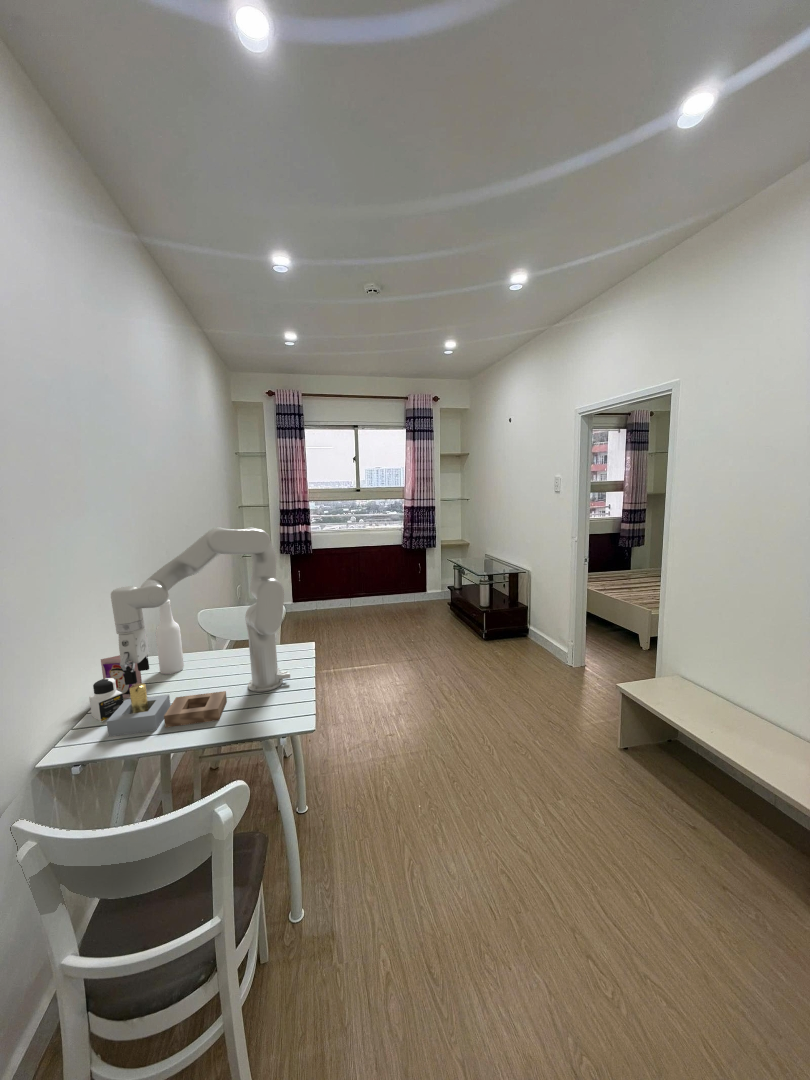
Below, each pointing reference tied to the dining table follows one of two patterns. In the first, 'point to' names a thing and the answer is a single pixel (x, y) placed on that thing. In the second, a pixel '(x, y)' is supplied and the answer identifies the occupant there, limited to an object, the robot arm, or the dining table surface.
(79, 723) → the dining table surface
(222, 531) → the robot arm
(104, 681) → the medicine bottle
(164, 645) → the alcohol
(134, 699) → the brass axle
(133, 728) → the slate seat block
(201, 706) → the brown hollow frame
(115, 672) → the greeting card
